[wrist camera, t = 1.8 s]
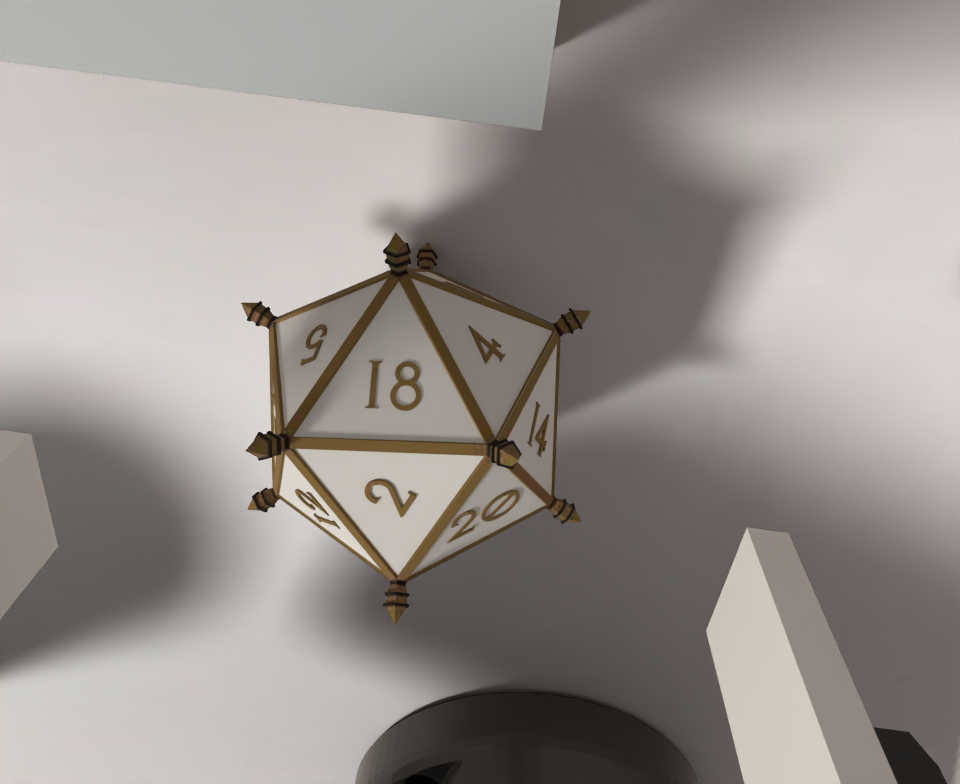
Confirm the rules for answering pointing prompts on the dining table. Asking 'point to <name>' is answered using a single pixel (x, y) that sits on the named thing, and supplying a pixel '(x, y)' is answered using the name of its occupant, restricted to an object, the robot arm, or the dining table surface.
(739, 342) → the dining table surface
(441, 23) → the tower top
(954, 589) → the dining table surface
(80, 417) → the dining table surface
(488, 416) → the game die
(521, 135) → the dining table surface
